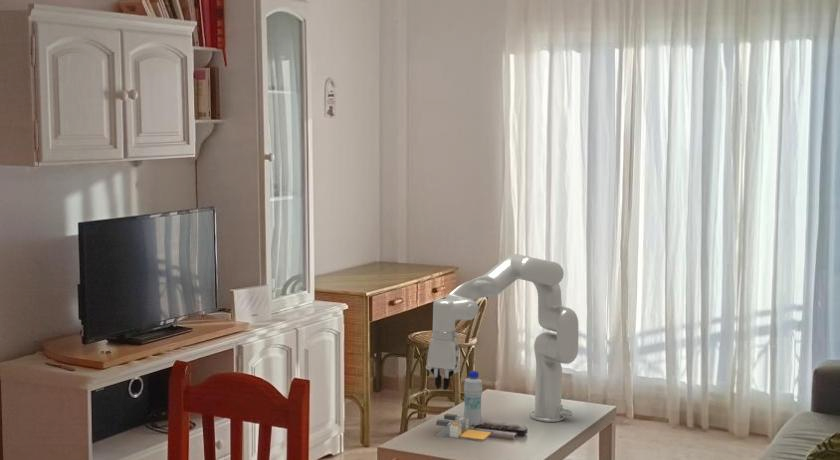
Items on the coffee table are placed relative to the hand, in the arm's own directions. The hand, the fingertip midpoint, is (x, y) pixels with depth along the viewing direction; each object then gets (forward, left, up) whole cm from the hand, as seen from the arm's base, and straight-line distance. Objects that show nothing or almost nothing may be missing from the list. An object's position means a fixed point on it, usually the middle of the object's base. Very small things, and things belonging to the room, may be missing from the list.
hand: (442, 388), depth 351 cm
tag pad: (-11, -4, -16) cm, 20 cm away
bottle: (-6, -17, -17) cm, 25 cm away
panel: (-7, -4, -17) cm, 19 cm away
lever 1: (-1, 0, -13) cm, 13 cm away
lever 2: (-1, -8, -13) cm, 15 cm away
